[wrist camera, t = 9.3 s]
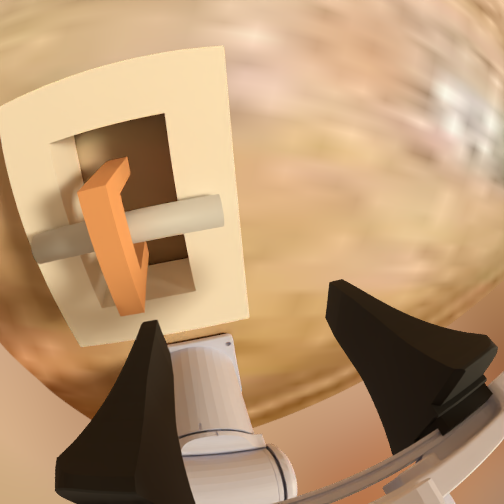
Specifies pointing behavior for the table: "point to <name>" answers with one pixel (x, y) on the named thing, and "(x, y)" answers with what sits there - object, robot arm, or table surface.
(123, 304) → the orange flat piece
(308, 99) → the table surface
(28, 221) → the cream frame with crossbar
